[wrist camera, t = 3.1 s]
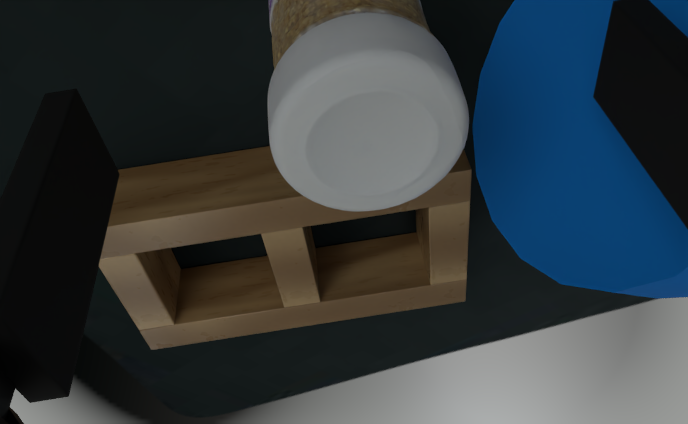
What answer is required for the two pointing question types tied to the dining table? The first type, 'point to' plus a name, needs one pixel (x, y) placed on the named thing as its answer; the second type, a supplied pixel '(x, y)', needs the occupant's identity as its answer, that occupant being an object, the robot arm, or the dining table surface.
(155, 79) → the dining table surface
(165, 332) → the holder
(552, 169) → the thermos
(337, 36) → the spice jar
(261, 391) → the dining table surface
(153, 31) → the dining table surface
